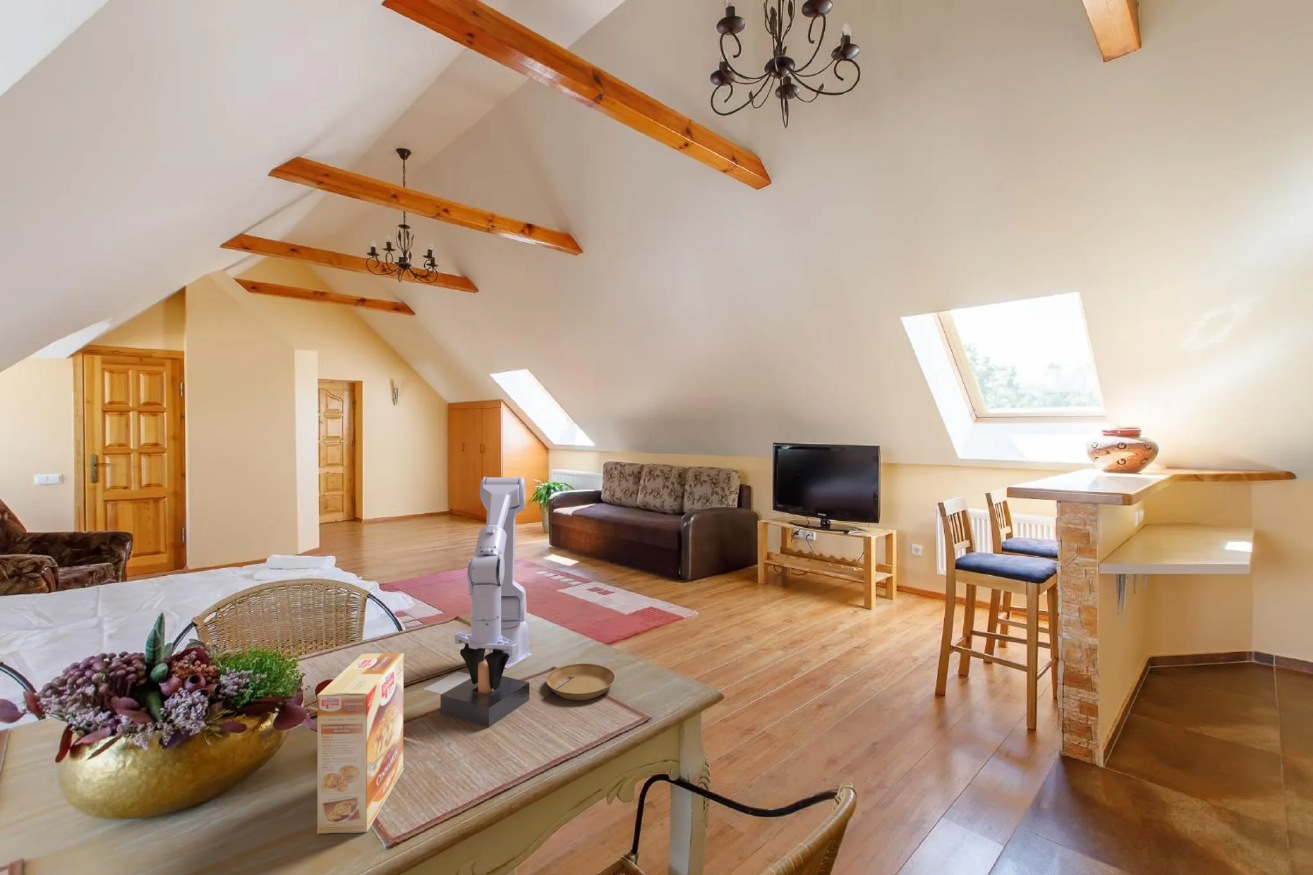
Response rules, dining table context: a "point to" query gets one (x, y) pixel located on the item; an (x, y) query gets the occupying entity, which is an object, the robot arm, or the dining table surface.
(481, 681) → the peg
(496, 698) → the socket block
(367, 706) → the coffeecake box
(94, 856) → the dining table surface
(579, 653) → the dining table surface
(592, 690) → the plant saucer
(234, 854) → the dining table surface
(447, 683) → the mat
